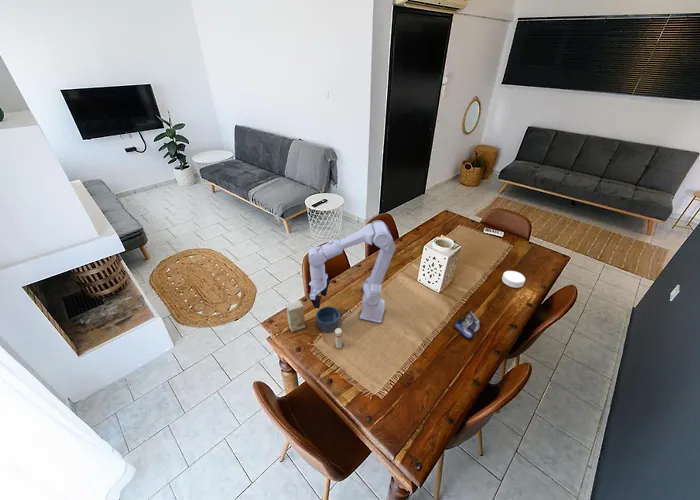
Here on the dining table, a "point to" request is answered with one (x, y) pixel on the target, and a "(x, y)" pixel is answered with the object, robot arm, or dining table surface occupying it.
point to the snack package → (467, 324)
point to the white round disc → (513, 279)
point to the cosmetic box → (295, 315)
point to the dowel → (338, 337)
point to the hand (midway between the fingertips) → (320, 301)
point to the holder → (328, 319)
